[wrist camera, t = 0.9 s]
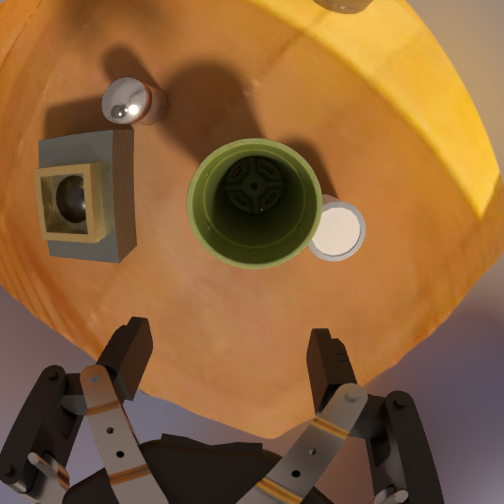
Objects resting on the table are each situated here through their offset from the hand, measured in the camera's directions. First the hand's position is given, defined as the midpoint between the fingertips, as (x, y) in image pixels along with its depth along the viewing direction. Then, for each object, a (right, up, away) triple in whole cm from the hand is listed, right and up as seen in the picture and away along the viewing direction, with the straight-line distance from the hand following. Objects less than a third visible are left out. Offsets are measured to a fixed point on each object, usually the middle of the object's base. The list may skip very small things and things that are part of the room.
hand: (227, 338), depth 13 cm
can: (-12, +22, +17) cm, 31 cm away
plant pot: (+2, +12, +21) cm, 25 cm away
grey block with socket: (-20, +13, +21) cm, 32 cm away
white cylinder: (+10, +9, +23) cm, 27 cm away
